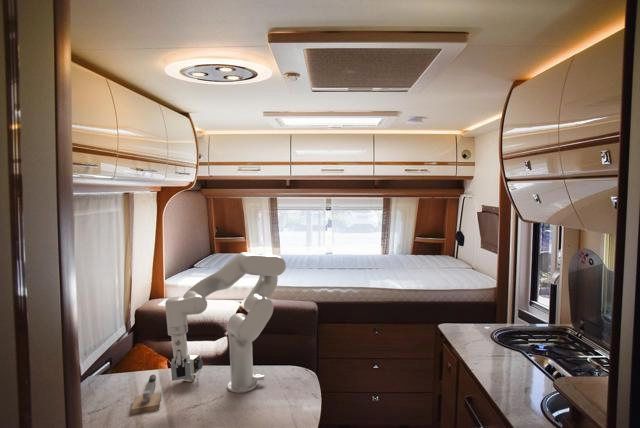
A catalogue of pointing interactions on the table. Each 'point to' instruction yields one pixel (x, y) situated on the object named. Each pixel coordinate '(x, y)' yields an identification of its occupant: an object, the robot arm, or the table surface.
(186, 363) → the hollow grey cube
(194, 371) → the pneumatic valve
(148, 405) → the mallet
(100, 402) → the table surface
